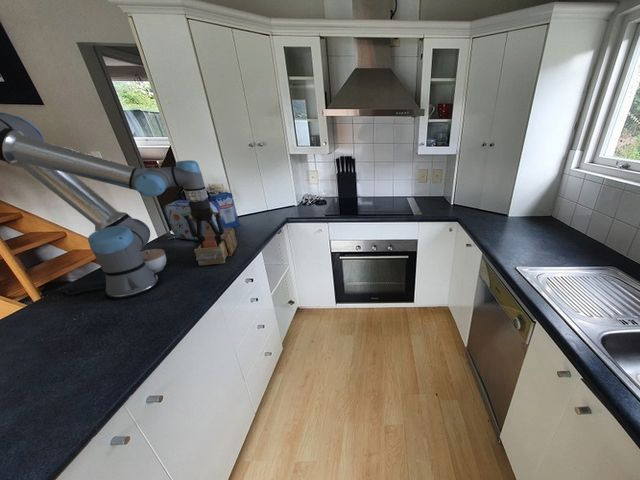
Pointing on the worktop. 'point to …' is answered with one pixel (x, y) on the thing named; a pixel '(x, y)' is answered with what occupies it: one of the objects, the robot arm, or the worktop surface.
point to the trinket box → (154, 259)
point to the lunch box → (180, 224)
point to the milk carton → (226, 208)
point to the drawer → (211, 254)
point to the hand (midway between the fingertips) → (213, 249)
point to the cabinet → (225, 238)
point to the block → (209, 243)
